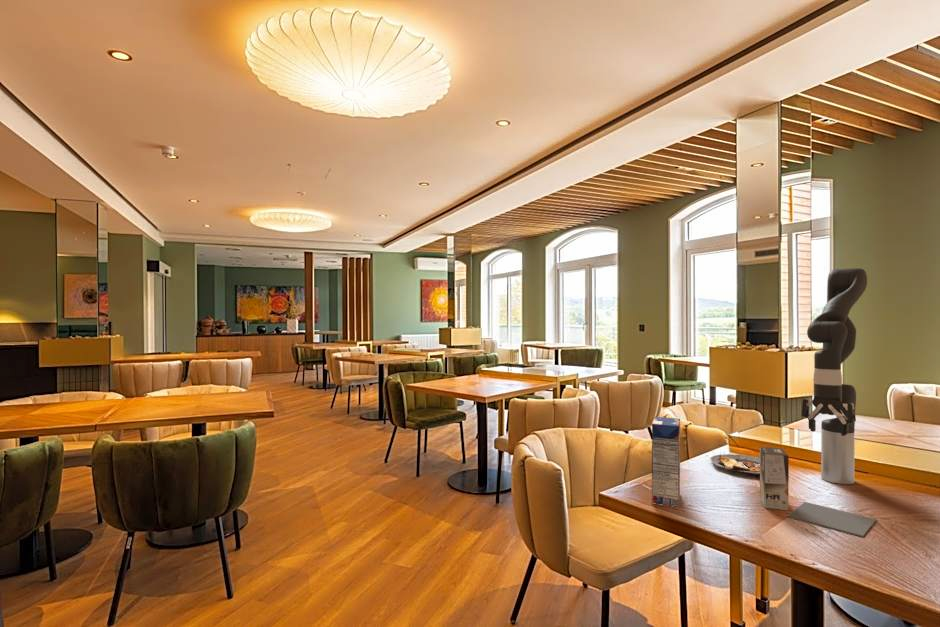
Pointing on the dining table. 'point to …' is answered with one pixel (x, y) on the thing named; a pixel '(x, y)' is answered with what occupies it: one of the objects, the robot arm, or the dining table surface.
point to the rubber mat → (833, 518)
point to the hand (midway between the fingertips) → (828, 433)
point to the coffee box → (774, 478)
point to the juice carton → (666, 461)
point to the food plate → (732, 463)
